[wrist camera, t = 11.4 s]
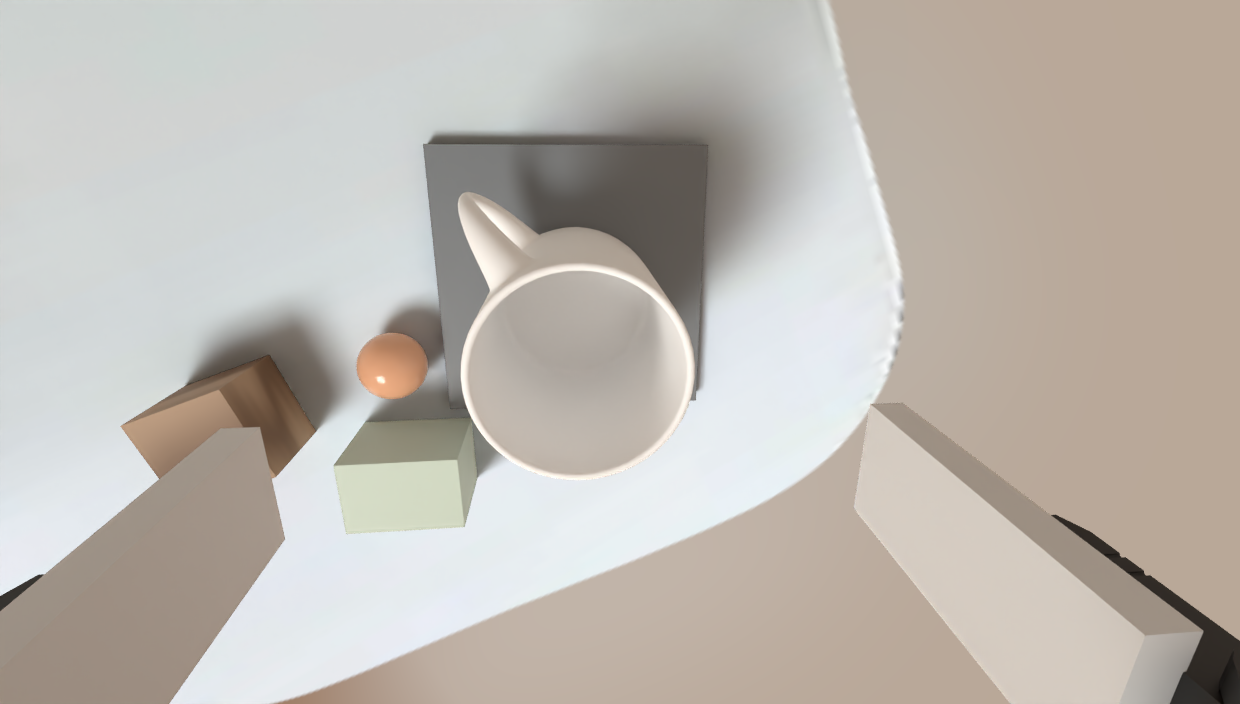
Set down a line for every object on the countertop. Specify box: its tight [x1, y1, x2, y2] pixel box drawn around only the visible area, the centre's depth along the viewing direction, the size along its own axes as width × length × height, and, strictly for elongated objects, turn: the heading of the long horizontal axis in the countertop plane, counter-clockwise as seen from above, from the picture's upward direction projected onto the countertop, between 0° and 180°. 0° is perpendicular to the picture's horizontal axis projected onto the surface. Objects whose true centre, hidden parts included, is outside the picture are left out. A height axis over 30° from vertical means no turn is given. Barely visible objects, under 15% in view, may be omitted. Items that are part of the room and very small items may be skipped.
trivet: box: [423, 144, 708, 409], centre depth 31 cm, size 14×14×1 cm
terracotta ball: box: [356, 333, 428, 399], centre depth 31 cm, size 4×4×4 cm
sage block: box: [334, 418, 477, 534], centre depth 32 cm, size 4×6×5 cm, turn 90°
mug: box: [458, 192, 695, 480], centre depth 26 cm, size 9×12×11 cm
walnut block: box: [121, 355, 316, 479], centre depth 30 cm, size 5×5×5 cm
